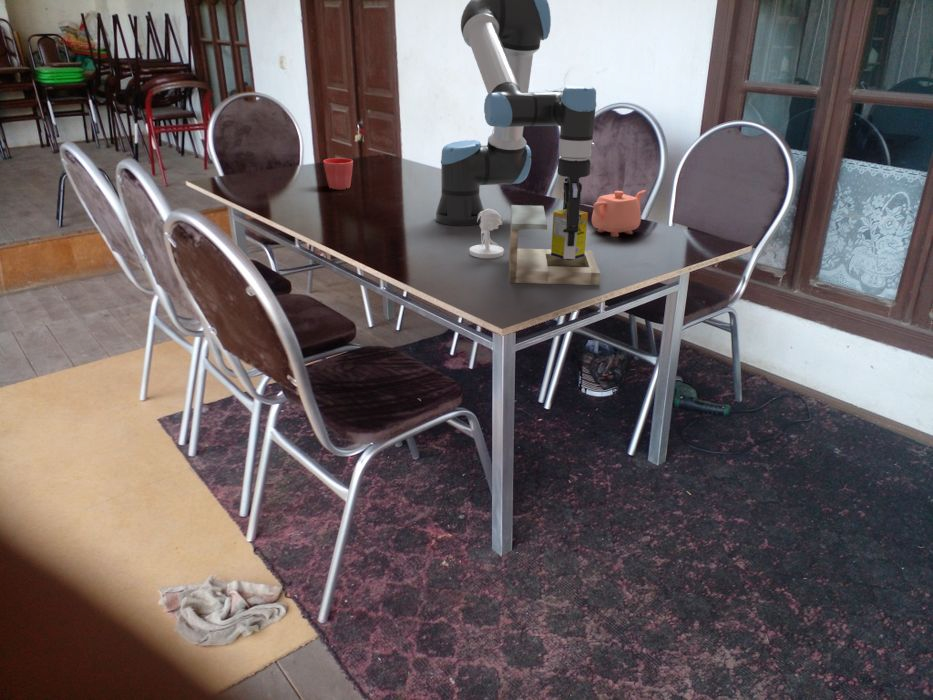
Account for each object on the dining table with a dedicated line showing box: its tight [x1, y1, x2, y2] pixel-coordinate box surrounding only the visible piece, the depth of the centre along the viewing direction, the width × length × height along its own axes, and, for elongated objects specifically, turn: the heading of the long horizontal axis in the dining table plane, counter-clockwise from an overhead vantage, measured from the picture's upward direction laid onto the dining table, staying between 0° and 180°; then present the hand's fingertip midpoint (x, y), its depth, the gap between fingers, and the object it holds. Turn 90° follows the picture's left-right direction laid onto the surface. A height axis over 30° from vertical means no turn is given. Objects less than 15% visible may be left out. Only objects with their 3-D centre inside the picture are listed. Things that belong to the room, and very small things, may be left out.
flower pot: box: [323, 157, 354, 190], centre depth 257 cm, size 11×11×10 cm
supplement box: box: [550, 209, 589, 260], centre depth 169 cm, size 6×6×11 cm
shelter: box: [508, 204, 601, 286], centre depth 171 cm, size 21×18×14 cm
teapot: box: [591, 189, 647, 238], centre depth 206 cm, size 20×12×12 cm, turn 124°
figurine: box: [468, 208, 505, 259], centre depth 184 cm, size 9×9×12 cm
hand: (567, 252), depth 171 cm, fingers closed on supplement box, 8 cm apart
